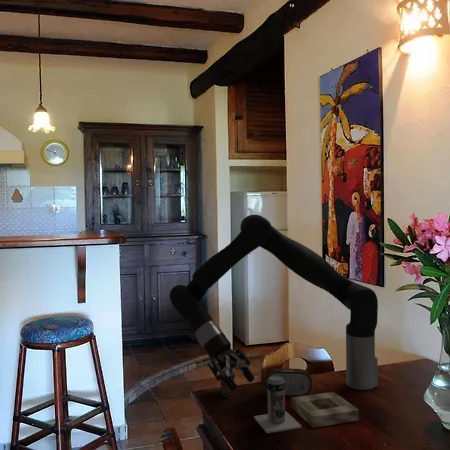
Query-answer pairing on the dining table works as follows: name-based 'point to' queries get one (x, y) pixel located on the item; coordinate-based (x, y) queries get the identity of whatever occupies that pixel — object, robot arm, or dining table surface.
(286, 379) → the tin
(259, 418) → the pad
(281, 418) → the beer can
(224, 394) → the lighter
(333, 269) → the robot arm
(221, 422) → the dining table surface
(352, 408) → the socket block
